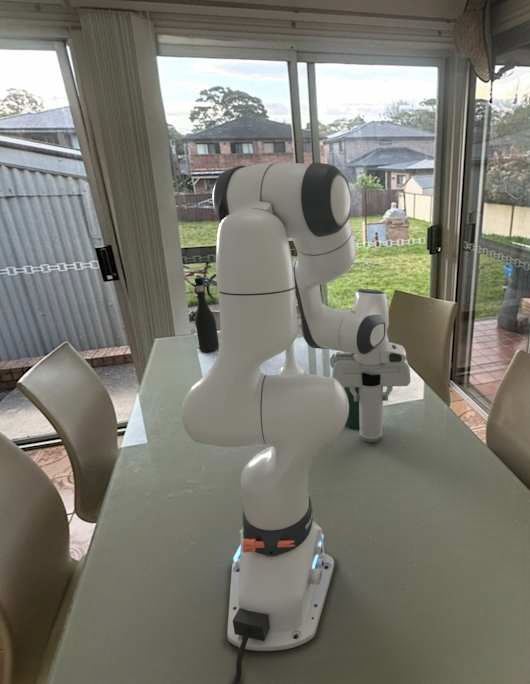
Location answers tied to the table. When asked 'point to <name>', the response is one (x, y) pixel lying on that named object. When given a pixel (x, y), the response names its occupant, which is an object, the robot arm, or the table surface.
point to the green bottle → (352, 410)
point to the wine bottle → (205, 322)
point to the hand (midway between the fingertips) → (371, 400)
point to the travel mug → (371, 408)
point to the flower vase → (292, 357)
